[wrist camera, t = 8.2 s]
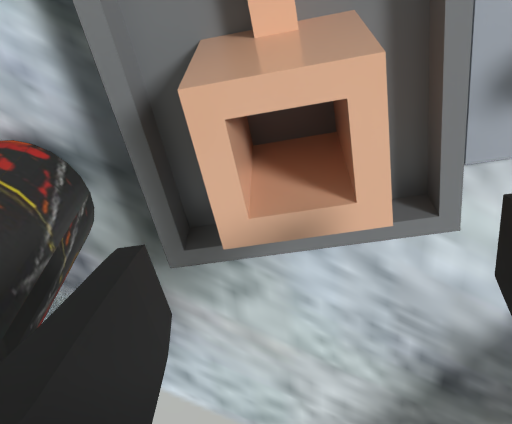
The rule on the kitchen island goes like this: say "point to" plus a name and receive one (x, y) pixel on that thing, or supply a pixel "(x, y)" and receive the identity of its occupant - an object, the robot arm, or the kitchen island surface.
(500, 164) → the kitchen island surface
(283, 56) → the orange hollow square box
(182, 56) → the tray
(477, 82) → the slate board
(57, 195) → the deodorant
